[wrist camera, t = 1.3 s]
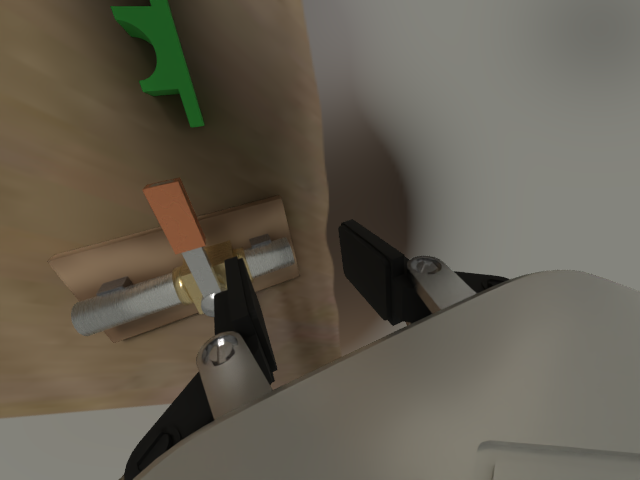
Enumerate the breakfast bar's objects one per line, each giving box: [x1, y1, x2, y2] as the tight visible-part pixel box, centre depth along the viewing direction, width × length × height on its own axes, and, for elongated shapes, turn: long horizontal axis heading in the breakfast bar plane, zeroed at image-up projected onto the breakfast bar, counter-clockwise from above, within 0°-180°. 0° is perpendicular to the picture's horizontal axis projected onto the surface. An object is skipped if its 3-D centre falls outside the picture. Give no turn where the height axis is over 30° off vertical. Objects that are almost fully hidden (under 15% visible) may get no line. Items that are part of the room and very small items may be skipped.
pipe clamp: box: [110, 0, 205, 127], centre depth 21 cm, size 11×4×5 cm, turn 7°
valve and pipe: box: [71, 234, 295, 336], centre depth 28 cm, size 5×22×5 cm, turn 99°
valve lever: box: [142, 178, 227, 317], centre depth 23 cm, size 13×3×3 cm, turn 9°
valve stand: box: [47, 195, 300, 343], centre depth 31 cm, size 12×24×2 cm, turn 99°
